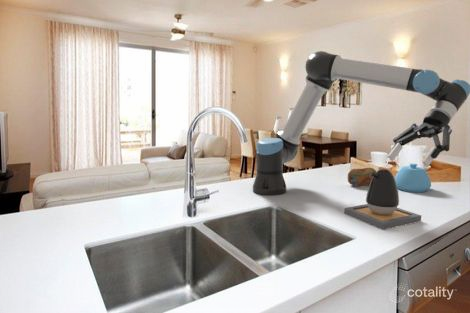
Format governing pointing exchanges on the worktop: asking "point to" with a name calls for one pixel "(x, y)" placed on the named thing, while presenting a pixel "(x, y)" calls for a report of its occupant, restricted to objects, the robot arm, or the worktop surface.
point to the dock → (379, 223)
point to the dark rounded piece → (382, 193)
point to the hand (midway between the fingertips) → (406, 161)
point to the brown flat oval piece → (360, 176)
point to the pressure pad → (382, 217)
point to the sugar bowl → (413, 179)
